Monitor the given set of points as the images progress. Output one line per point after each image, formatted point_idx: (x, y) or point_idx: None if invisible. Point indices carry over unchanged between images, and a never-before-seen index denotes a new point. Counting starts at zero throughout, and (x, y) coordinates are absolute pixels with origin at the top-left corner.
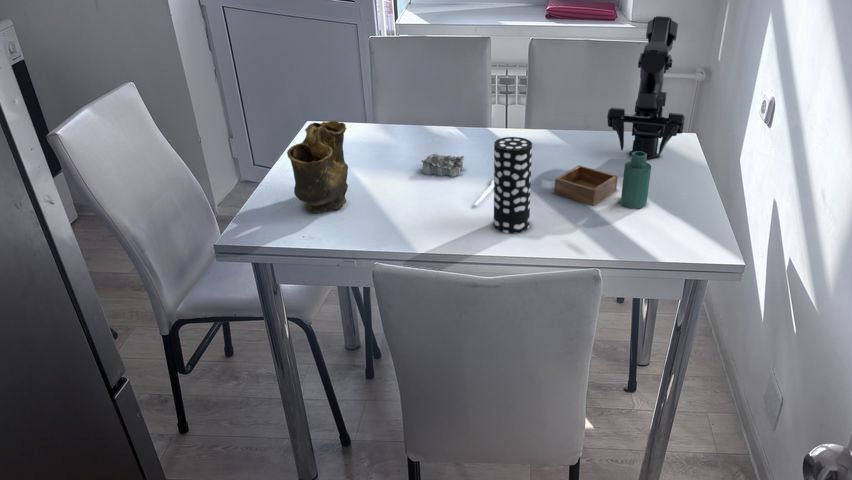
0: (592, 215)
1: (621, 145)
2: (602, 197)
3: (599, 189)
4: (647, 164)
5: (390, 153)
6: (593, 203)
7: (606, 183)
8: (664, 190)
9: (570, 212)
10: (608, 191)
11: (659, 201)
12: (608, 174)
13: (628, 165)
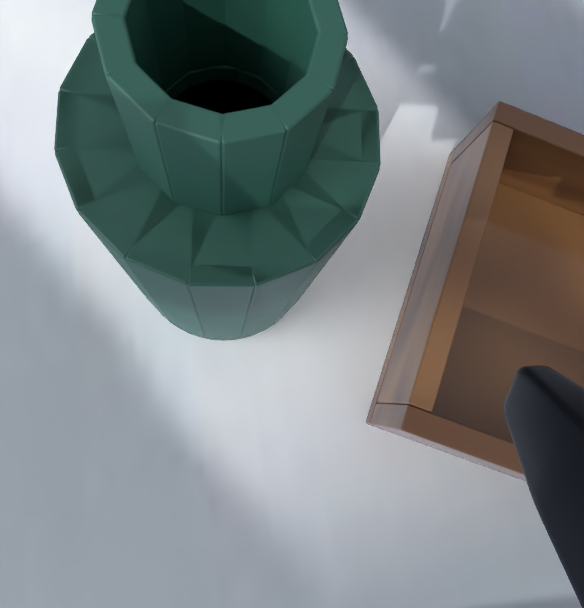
0: (425, 35)
1: (578, 387)
2: (426, 242)
3: (474, 166)
4: (110, 195)
5: None
6: (457, 147)
7: (452, 252)
8: (19, 557)
9: (541, 43)
10: (410, 310)
11: (50, 340)
12: (479, 434)
13: (334, 102)
